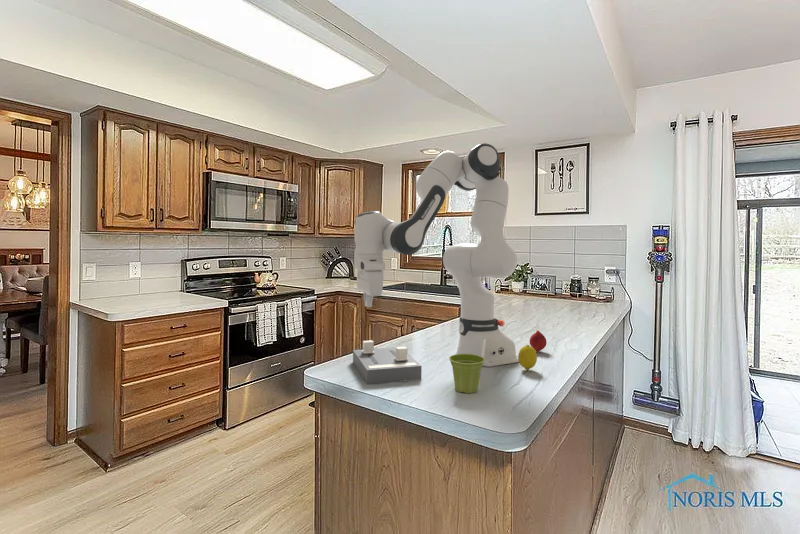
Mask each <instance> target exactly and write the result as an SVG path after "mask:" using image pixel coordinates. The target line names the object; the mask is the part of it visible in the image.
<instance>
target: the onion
mask: <svg viewBox="0 0 800 534" xmlns="http://www.w3.org/2000/svg"><path fill="white" fill-rule="evenodd" d="M529 346H531V347H532V348H534V350H535V351H536V353H538V352H541V351H542V350H543V349H545V347H546V346H547V339H546V337H545V335H544V334H543V333H542V332H540V330H539V329H536V332H534V333H532V335H531V336H530V338H529Z"/></svg>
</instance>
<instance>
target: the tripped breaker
mask: <svg viewBox="0 0 800 534" xmlns="http://www.w3.org/2000/svg"><path fill="white" fill-rule="evenodd" d="M374 343H375V342H374V340H373V339H369V340H363V341H362V349H363V350H362V352H363V354H369V353H375V352H374V349H375V346H374V345H375V344H374Z"/></svg>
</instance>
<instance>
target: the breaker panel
mask: <svg viewBox="0 0 800 534" xmlns="http://www.w3.org/2000/svg"><path fill="white" fill-rule="evenodd" d="M396 347H397V346H393V347H378V348H376V347H375V348H374V352H375V353H369V354H363V352H362V350H363V348H362V349H353V350H352V363H353V365H354V366H355V367H356V369H357V371H358V372H359V374H360V375H361V377H362V379H363V380H364V382H365V384H366V385H374V384H385V383H397V382H408V381H418V380H422V365H421V364H420V363H419V362H418V361H417V360H415V358H413V357H412V356H411V355H410V354H408V353H407V358H408V359H409V360H403V361H396V360H395V359H394V357H395V351H396Z"/></svg>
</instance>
